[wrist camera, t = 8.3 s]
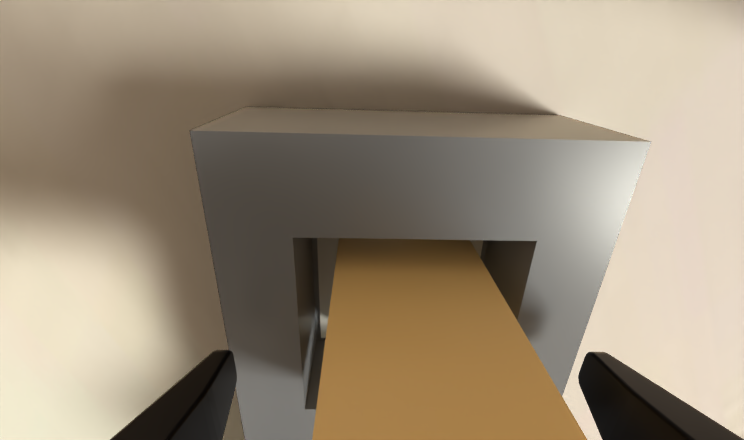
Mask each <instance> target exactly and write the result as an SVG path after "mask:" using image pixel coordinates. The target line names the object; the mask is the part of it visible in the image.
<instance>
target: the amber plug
mask: <svg viewBox="0 0 744 440" xmlns="http://www.w3.org/2000/svg"><path fill="white" fill-rule="evenodd" d="M312 440H587V438H586V437H585V435H584V433H583V432H582V430H581V428H580V427H579V425H578V423H577V421H576V420H575V418H574V416H573V415H572V413H571V411H570V410H569V408H568V406H567V404H566V403H565V401H564V399H563V398H562V396H561V394H560V393H559V391H558V389H557V387H556V386H555V384H554V382H553V381H552V379H551V377H550V376H549V374H548V372H547V370H546V369H545V367H544V365H543V364H542V362H541V360H540V359H539V357H538V355H537V353H536V352H535V350H534V348H533V347H532V345H531V343H530V341H529V340H528V338H527V336H526V335H525V333H524V331H523V330H522V328H521V326H520V324H519V323H518V321H517V319H516V318H515V316H514V314H513V313H512V311H511V309H510V307H509V306H508V304H507V302H506V301H505V299H504V297H503V296H502V294H501V292H500V290H499V289H498V287H497V285H496V284H495V282H494V280H493V279H492V277H491V275H490V273H489V272H488V270H487V268H486V267H485V265H484V263H483V262H482V260H481V258H480V256H479V255H478V253H477V251H476V250H475V248H474V246H473V245H472V243H471V241H470V240H430V239H362V238H339V241H338V249H337V256H336V264H335V271H334V279H333V286H332V294H331V301H330V309H329V317H328V324H327V332H326V339H325V347H324V354H323V362H322V369H321V377H320V385H319V392H318V400H317V407H316V415H315V422H314V430H313V437H312Z"/></svg>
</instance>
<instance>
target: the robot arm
mask: <svg viewBox="0 0 744 440" xmlns="http://www.w3.org/2000/svg"><path fill="white" fill-rule="evenodd" d="M578 379H579V384H580V387H581V389H582V392H583V394H584V397H585V399H586V401H587V404H588V406H589V409H590V411H591V413H592V416H593V418H594V421H595V423H596V425H597V428H598V430H599V433H600V435H601V437H602V439H603V440H744V439H742V438H741V437H739V436H737V435H736V434H734V433H733V432H731V431H729V430H728V429H726V428H725V427H723V426H722V425H720V424H718V423H717V422H715V421H714V420H712V419H710V418H709V417H707V416H706V415H704V414H703V413H701V412H699V411H698V410H696V409H695V408H693V407H691V406H690V405H688V404H687V403H685V402H684V401H682V400H680V399H679V398H677V397H676V396H674V395H672V394H671V393H669V392H668V391H666V390H665V389H663V388H661V387H660V386H658V385H657V384H655V383H654V382H652V381H650V380H649V379H647V378H646V377H644V376H642V375H641V374H639V373H638V372H636V371H635V370H633V369H631V368H630V367H628V366H627V365H625V364H623V363H622V362H620V361H619V360H617V359H616V358H614V357H612V356H611V355H609V354H607V353H605V352H588V353H587V354H586V356H585V358H584V361H583V364H582V367H581V369H580V372H579V377H578ZM236 382H237V372H236V366H235V360H234V355H233V352H232V351H230V350H216V351H214V352H212V353H211V354H210V355H209V356H208V357H206V358H205V359H204V360H203V361H202V362H200V363H199V364H198V365H197V366H196V367H195V368H193V369H192V370H191V371H190V372H189V373H188V374H186V375H185V376H184V377H183V378H182V379H181V380H179V381H178V382H177V383H176V384H175V385H173V386H172V387H171V388H170V389H169V390H168V391H166V392H165V393H164V394H163V395H162V396H161V397H159V398H158V399H157V400H156V401H155V402H154V403H152V404H151V405H150V406H149V407H148V408H147V409H145V410H144V411H143V412H142V413H141V414H139V415H138V416H137V417H136V418H135V419H134V420H132V421H131V422H130V423H129V424H128V425H127V426H125V427H124V428H123V429H122V430H121V431H120V432H118V433H117V434H116V435H115V436H114V437H113V438H111V439H110V440H222V438H223V434H224V430H225V426H226V422H227V418H228V414H229V410H230V407H231V403H232V399H233V395H234V391H235V387H236Z"/></svg>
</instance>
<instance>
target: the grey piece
mask: <svg viewBox="0 0 744 440" xmlns="http://www.w3.org/2000/svg"><path fill="white" fill-rule="evenodd" d="M190 135H191V141H192V146H193V152H194V158H195V163H196V169H197V174H198V180H199V186H200V191H201V197H202V202H203V208H204V213H205V219H206V225H207V230H208V236H209V241H210V247H211V253H212V258H213V264H214V269H215V275H216V280H217V286H218V292H219V297H220V303H221V308H222V314H223V319H224V325H225V331H226V336H227V342H228V347H229V350H230V351H232V352H233V355H234V360H235V366H236V372H237V382H236V392H237V398H238V403H239V409H240V414H241V420H242V426H243V431H244V437H245V440H312V437H313V430H314V422H315V415H316V407H317V400H318V392H319V385H320V377H321V369H322V362H323V354H324V347H325V339H326V332H327V324H328V317H329V309H330V301H331V294H332V286H333V279H334V271H335V264H336V256H337V249H338V241H339V238H362V239H430V240H470V241H471V243H472V245H473V246H474V248H475V250H476V251H477V253H478V255H479V256H480V258H481V260H482V262H483V263H484V265H485V267H486V268H487V270H488V272H489V273H490V275H491V277H492V279H493V280H494V282H495V284H496V285H497V287H498V289H499V290H500V292H501V294H502V296H503V297H504V299H505V301H506V302H507V304H508V306H509V307H510V309H511V311H512V313H513V314H514V316H515V318H516V319H517V321H518V323H519V324H520V326H521V328H522V330H523V331H524V333H525V335H526V336H527V338H528V340H529V341H530V343H531V345H532V347H533V348H534V350H535V352H536V353H537V355H538V357H539V359H540V360H541V362H542V364H543V365H544V367H545V369H546V370H547V372H548V374H549V376H550V377H551V379H552V381H553V382H554V384H555V386H556V387H557V389H558V391H559V393H560V394H561V396H562V395H563V392H564V389H565V386H566V384H567V381H568V378H569V375H570V372H571V369H572V366H573V364H574V361H575V358H576V355H577V352H578V349H579V347H580V344H581V341H582V338H583V335H584V332H585V329H586V327H587V324H588V321H589V318H590V315H591V312H592V309H593V307H594V304H595V301H596V298H597V295H598V292H599V289H600V287H601V284H602V281H603V278H604V275H605V272H606V269H607V267H608V264H609V261H610V258H611V255H612V252H613V250H614V247H615V244H616V241H617V238H618V235H619V232H620V230H621V227H622V224H623V221H624V218H625V215H626V212H627V210H628V207H629V204H630V201H631V198H632V195H633V192H634V190H635V187H636V184H637V181H638V178H639V175H640V172H641V170H642V167H643V164H644V161H645V158H646V155H647V152H648V150H649V147H650V144H651V142H650V141H647V140H644V139H640V138H637V137H633V136H630V135H626V134H623V133H620V132H616V131H613V130H609V129H606V128H602V127H599V126H595V125H592V124H589V123H585V122H582V121H578V120H575V119H571V118H568V117H565V116H561V115H534V114H497V113H459V112H422V111H384V110H347V109H309V108H272V107H244V108H242V109H240V110H237V111H235V112H233V113H230V114H228V115H225V116H223V117H221V118H218V119H216V120H213V121H211V122H209V123H206V124H204V125H202V126H199V127H197V128H194V129H192V130H190Z"/></svg>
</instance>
